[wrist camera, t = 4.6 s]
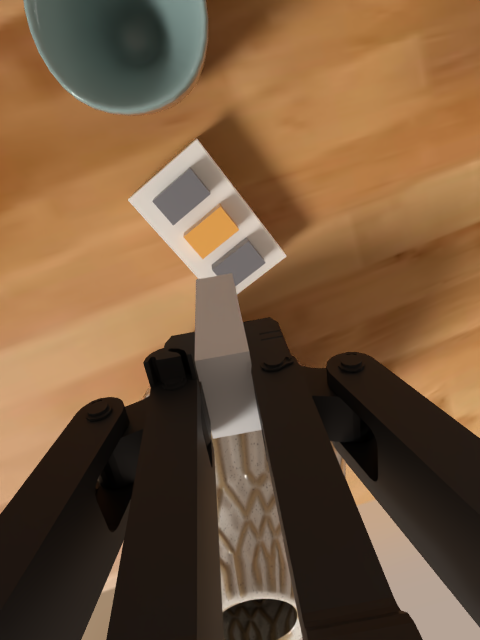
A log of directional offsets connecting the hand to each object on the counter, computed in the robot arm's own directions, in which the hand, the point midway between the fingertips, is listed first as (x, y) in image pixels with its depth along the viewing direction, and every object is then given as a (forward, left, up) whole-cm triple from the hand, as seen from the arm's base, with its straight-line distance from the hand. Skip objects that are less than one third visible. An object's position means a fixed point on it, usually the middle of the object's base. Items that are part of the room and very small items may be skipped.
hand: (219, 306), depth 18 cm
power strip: (0, 0, -16) cm, 16 cm away
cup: (-12, -2, -16) cm, 20 cm away
